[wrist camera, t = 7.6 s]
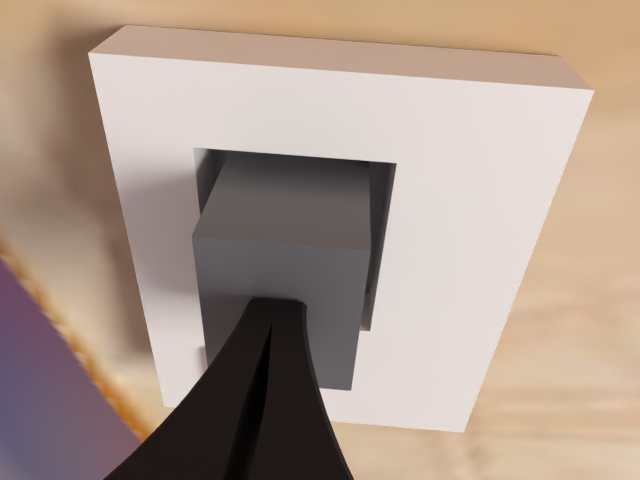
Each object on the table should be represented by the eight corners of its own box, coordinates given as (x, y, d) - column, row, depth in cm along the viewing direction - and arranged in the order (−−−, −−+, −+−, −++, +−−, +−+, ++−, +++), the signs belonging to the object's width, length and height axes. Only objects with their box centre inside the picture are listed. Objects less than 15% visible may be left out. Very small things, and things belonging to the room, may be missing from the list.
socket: (454, 381, 22) (465, 444, 20) (181, 357, 23) (160, 417, 20) (561, 56, 14) (602, 98, 12) (126, 24, 14) (78, 59, 12)
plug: (353, 274, 18) (351, 390, 14) (242, 265, 18) (209, 378, 15) (368, 147, 15) (370, 250, 11) (235, 137, 15) (191, 235, 12)
